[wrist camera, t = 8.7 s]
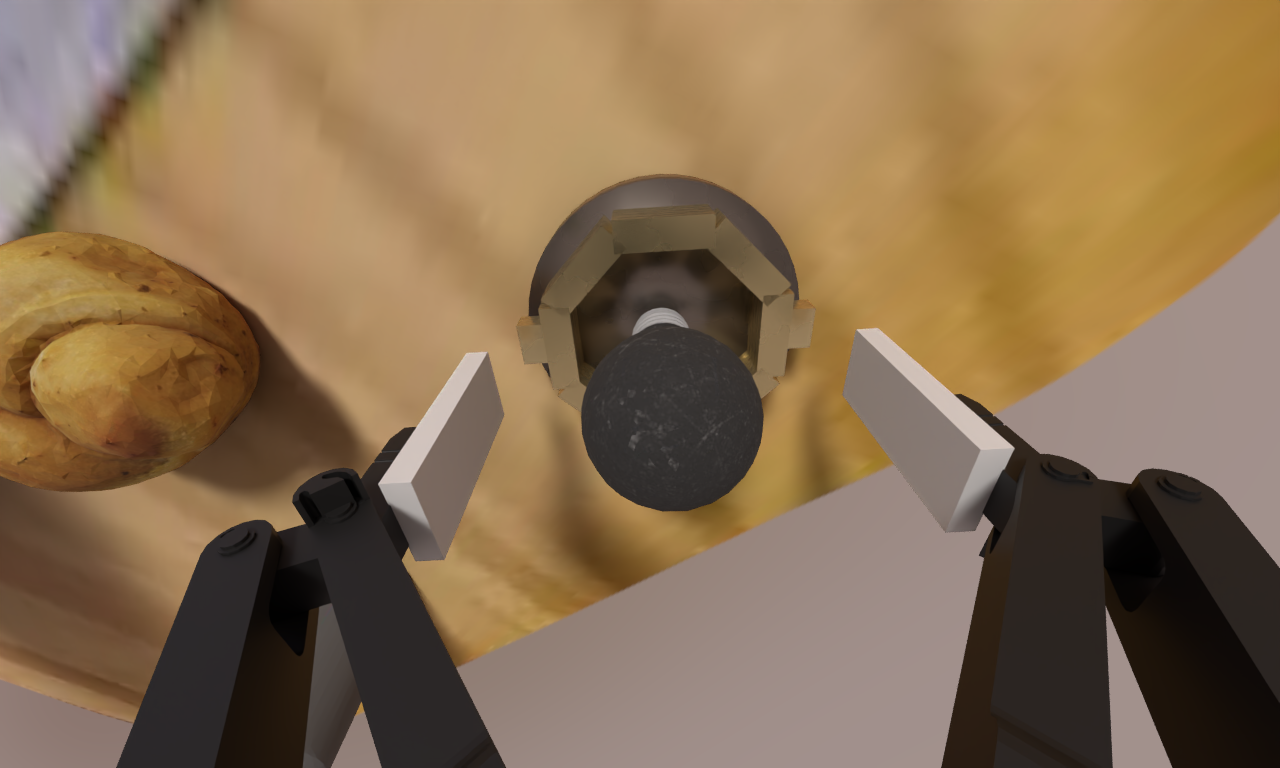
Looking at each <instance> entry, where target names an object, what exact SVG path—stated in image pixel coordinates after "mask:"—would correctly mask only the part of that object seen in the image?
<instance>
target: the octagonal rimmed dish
mask: <svg viewBox="0 0 1280 768" xmlns="http://www.w3.org/2000/svg"><path fill="white" fill-rule="evenodd" d="M656 308H668V309H671V310H674V311H676V312H677V313H679V314H680V315H681V316H682V317H683V318H684V320H685V322H686V323H687V325H688V327H689V328H690V329H694V330H698V331H700V332H702V333H705V334H708V335H710V336H711V337H713V338H715V339H716V340H718V341H720V342H721V343H723V344H725V345H727V346H728V347H729V348H730V349H731V350H732V351H733V352H734V353H735V354H736V355H737V356H738V357H739V359H740V360H741V361H742V362H743V363H744V364H745V366H746V367H747V369H748V370H749V371H750V373H751V374H752V376H753V379H754V381H755V384H756V386H757V388H758V390H759V394H760V397H761V399H762V398H763V397H764V396H765V395H767V394H768V393H769V392H770V391H771V390H773V389H774V388H775V387H776V386H777V385H779V384H780V383H779V382H778V380H777V378H776V376H784V374H785V366H786V358H787V352H788V350H789V348H806V347H810V342H811V335H812V329H813V322H814V316H815V309H816V308H815V307H814V306H813V305H812V304H811V303H810V302H809V301H808V299H807V300H799V292H798V282H797V278H796V273H795V269H794V265H793V263H792V260H791V258H790V255H789V252H788V250H787V248H786V246H785V245H784V243H783V241H782V240H781V238H780V236H779V234H778V233H777V232H776V231H775V229H774V228H773V227H772V226H771V224H770V223H769V222H768V221H767V220H766V219H765V218H764V217H763V216H762V215H761V214H760V213H759V212H758V211H757V210H756V209H754V208H753V207H752V206H751V205H750V204H748V203H747V202H746V201H744V200H743V199H741V198H740V197H738V196H737V195H735V194H734V193H733V192H731V191H729V190H727V189H725V188H723V187H721V186H719V185H717V184H715V183H712V182H709V181H706V180H703V179H699V178H696V177H690V176H684V175H677V174H656V175H648V176H641V177H636V178H633V179H629V180H626V181H622V182H619V183H617V184H614V185H612V186H610V187H608V188H606V189H603V190H601V191H600V192H598V193H597V194H595V195H593V196H592V197H590V198H589V199H587V200H586V201H585V202H583V203H582V204H581V205H580V206H579V207H577V208H576V209H575V210H574V211H573V212H572V213H571V214H570V215H569V216H568V217H567V218H566V219H565V221H564V222H563V223H562V224H561V225H560V226H559V228H558V229H557V231H556V232H555V234H554V235H553V237H552V239H551V240H550V242H549V243H548V245H547V246H546V248H545V250H544V252H543V254H542V256H541V258H540V260H539V263H538V265H537V267H536V271H535V274H534V277H533V280H532V284H531V291H530V297H529V316H528V317H521V318H520V320H519V322H518V324H517V326H516V327H517V332H518V336H519V341H520V346H521V350H522V355H523V359H524V364H537V363H542V365H543V366H544V368H545V370H546V371H547V373H548V375H549V376H550V378H551V382H552V387H553V390H554V389H560V390H559V394H558V397H559V398H561V399H562V400H564V401H565V402H567V403H568V404H569V405H571V406H572V407H574V408H575V409H577V410H578V411H580V412H581V407H582V402H583V397H584V393H585V391H586V388H587V385H588V383H589V381H590V379H591V377H592V375H593V372H594V370H595V369H596V367H597V366H598V365H599V363H600V362H601V361H602V359H603V358H604V357H605V356H606V355H607V354H608V353H609V352H610V351H612V350H613V349H614V348H615V347H616V346H617V345H619V344H620V343H621V342H622V341H624V340H626V339H627V338H629V337H631V336H632V334H633V329H634V327H635V325H636V323H637V321H638V319H639V318H640V317H641V316H642V315H643V314H644V313H646V312H648V311H650V310H652V309H656Z"/></svg>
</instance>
